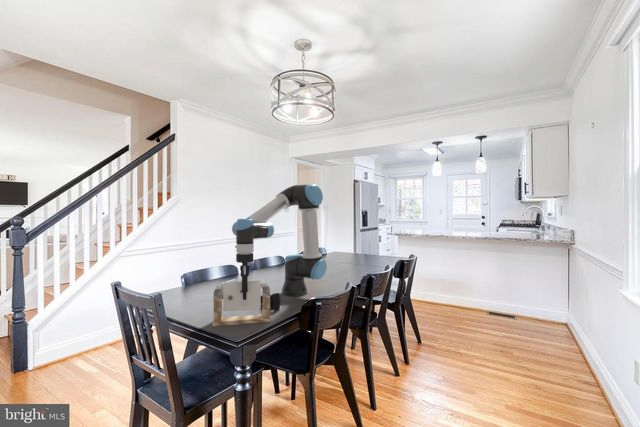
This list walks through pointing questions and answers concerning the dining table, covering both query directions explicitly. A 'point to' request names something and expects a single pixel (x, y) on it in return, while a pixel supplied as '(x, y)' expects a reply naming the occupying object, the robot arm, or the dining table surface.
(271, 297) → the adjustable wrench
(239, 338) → the dining table surface
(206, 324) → the dining table surface
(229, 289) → the cabinet door
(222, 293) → the right angle wall
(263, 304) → the hinge frame
